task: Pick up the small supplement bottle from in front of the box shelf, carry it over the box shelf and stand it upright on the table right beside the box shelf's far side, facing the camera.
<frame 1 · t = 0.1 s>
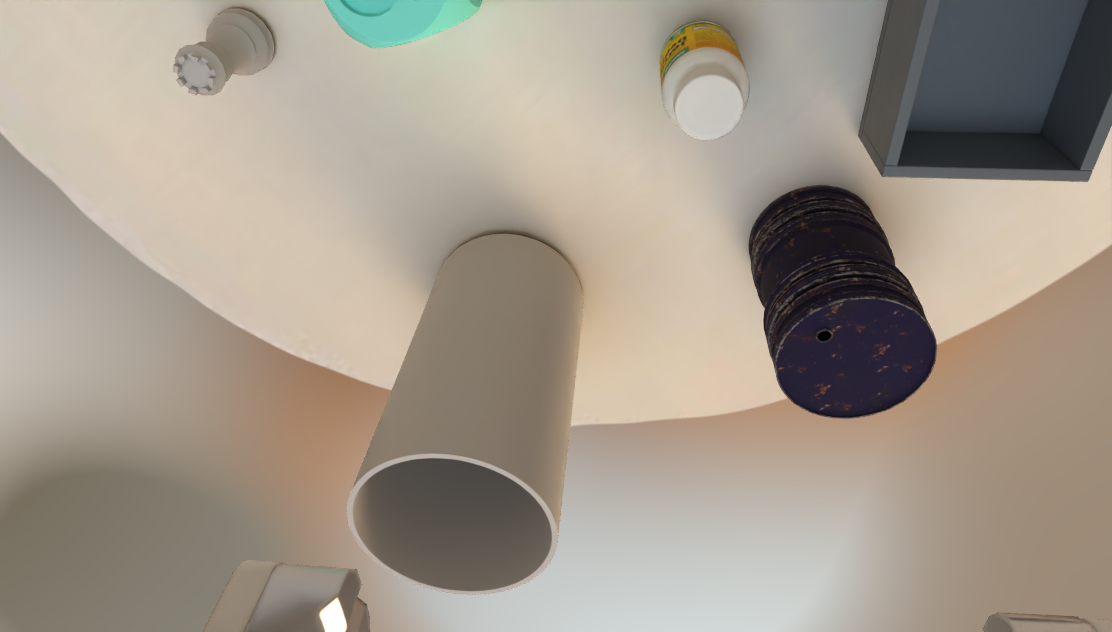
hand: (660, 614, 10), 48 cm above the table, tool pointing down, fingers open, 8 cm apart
supplement bottle: (698, 58, 53), on the table
dark barrel: (811, 240, 60), on the table
rook chess piece: (247, 38, 55), on the table
cylinder vase: (510, 292, 66), on the table
box shelf: (985, 15, 50), on the table
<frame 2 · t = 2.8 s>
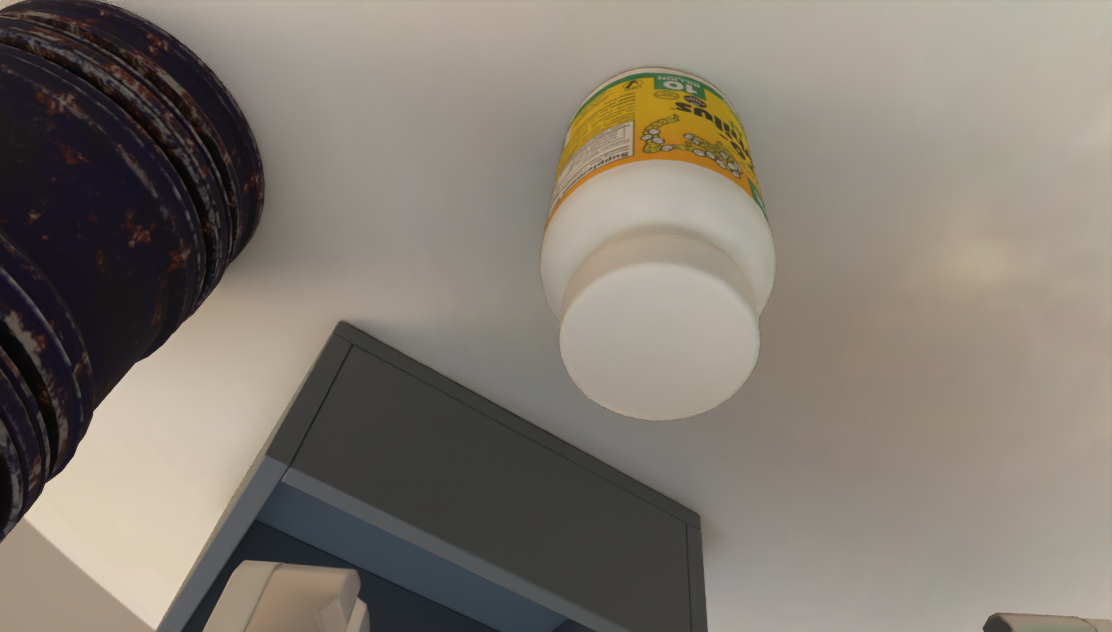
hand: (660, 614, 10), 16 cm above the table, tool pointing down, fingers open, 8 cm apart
supplement bottle: (654, 149, 23), on the table
dark barrel: (120, 150, 25), on the table
box shelf: (456, 508, 33), on the table
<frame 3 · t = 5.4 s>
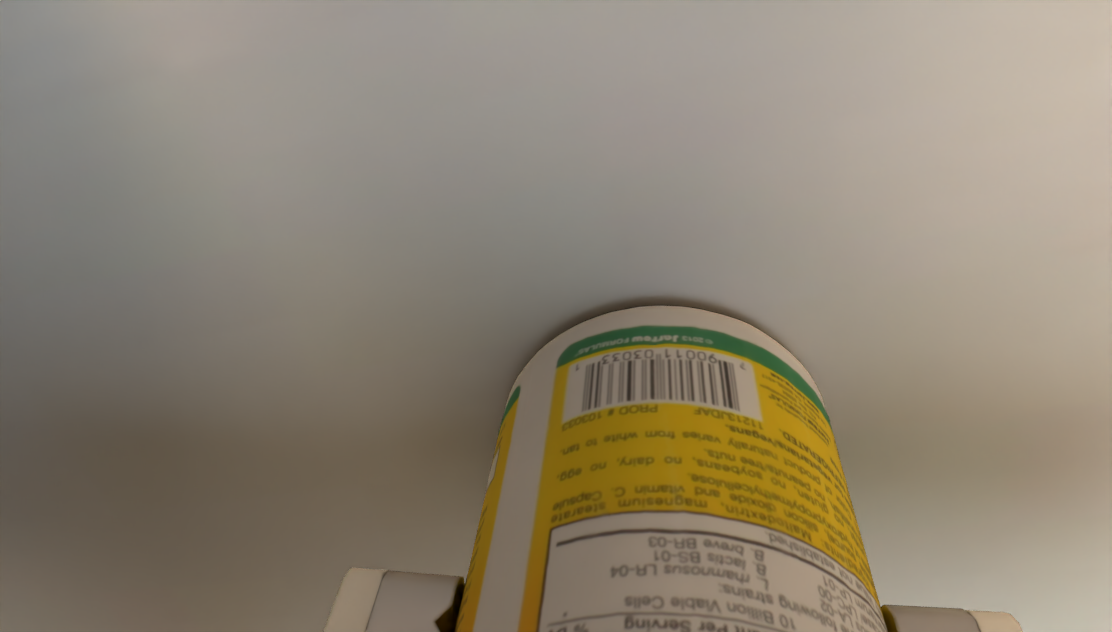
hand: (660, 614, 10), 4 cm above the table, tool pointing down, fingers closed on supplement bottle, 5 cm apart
supplement bottle: (658, 417, 13), on the table, touching gripper
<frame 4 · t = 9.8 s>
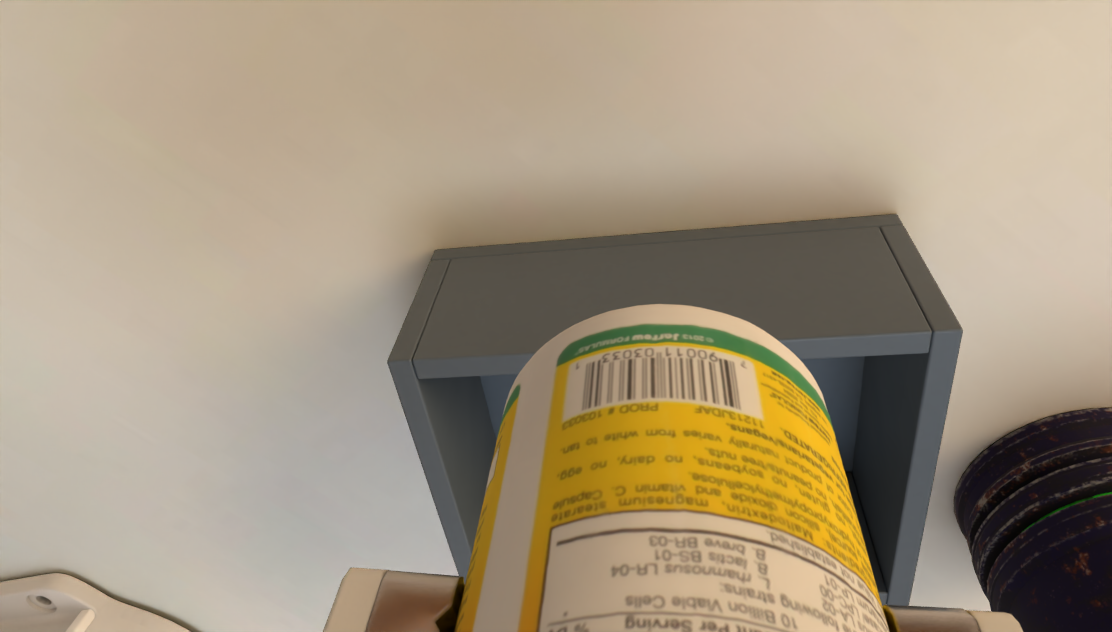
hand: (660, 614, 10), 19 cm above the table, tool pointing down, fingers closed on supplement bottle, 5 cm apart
supplement bottle: (659, 416, 13), point 15 cm above the table, touching gripper
dark barrel: (1071, 487, 34), on the table
box shelf: (665, 367, 31), on the table
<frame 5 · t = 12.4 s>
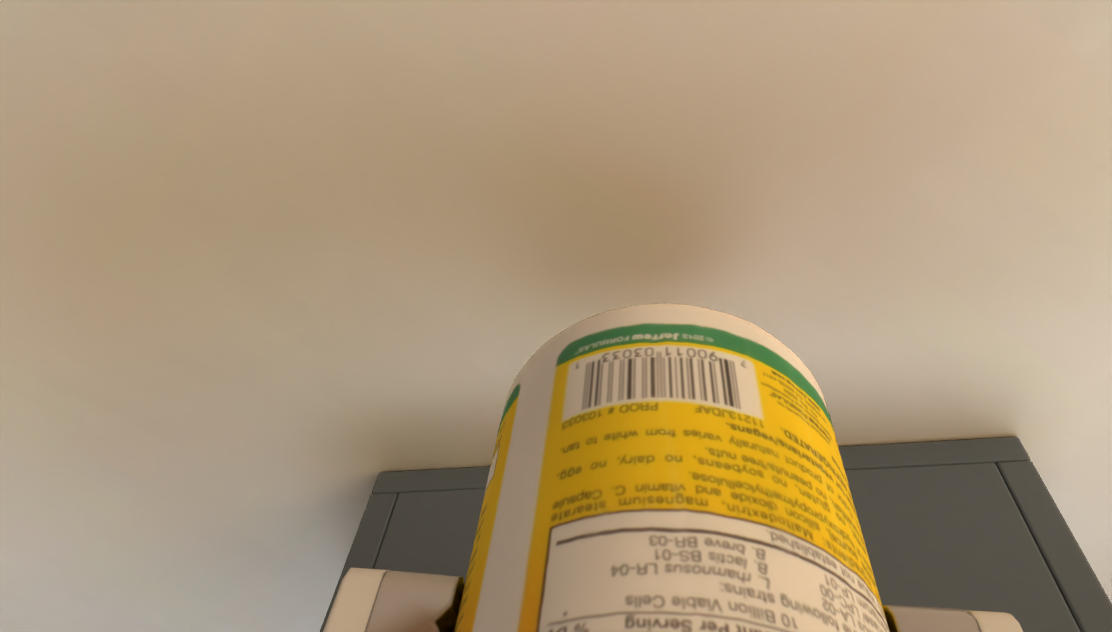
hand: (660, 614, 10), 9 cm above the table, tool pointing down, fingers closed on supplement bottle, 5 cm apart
supplement bottle: (658, 415, 13), point 5 cm above the table, touching gripper
box shelf: (693, 599, 24), on the table
when the fingers open (3 cm above the table, at t = 14.3 s): supplement bottle stays where it is, on the table.
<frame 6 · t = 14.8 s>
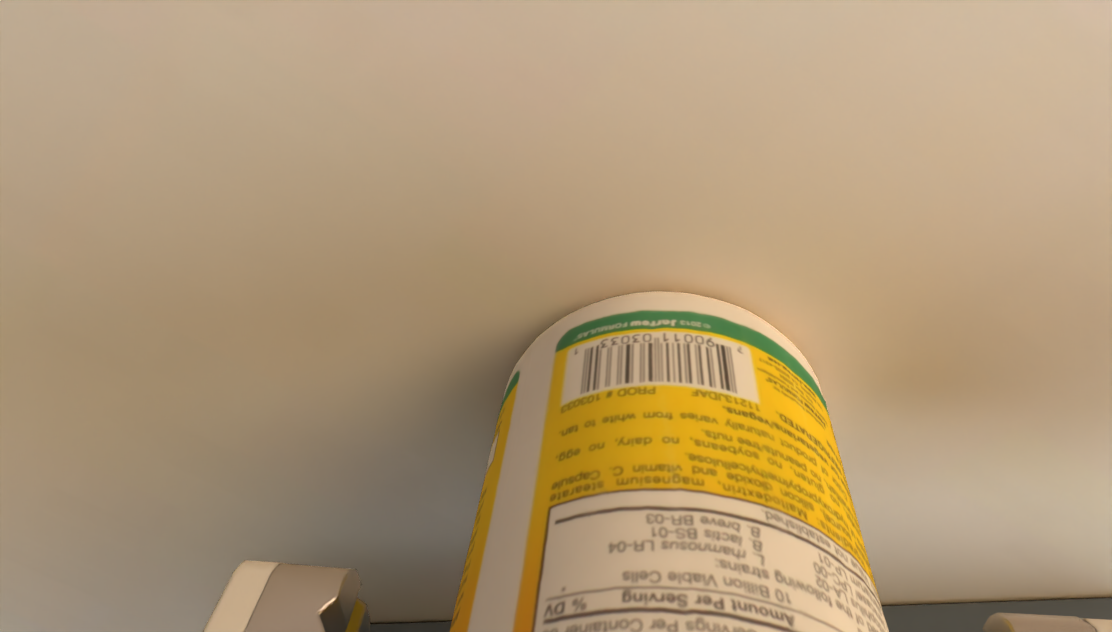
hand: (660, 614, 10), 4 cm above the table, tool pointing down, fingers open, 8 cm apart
supplement bottle: (656, 403, 13), on the table
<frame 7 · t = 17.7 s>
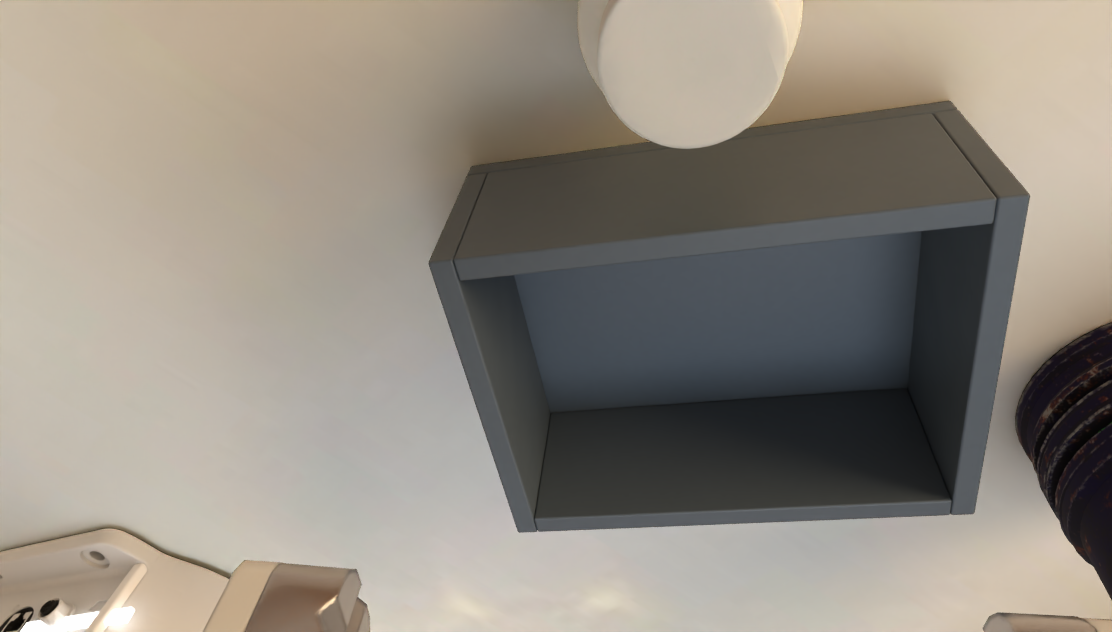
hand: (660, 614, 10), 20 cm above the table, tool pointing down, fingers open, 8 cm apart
box shelf: (710, 283, 31), on the table
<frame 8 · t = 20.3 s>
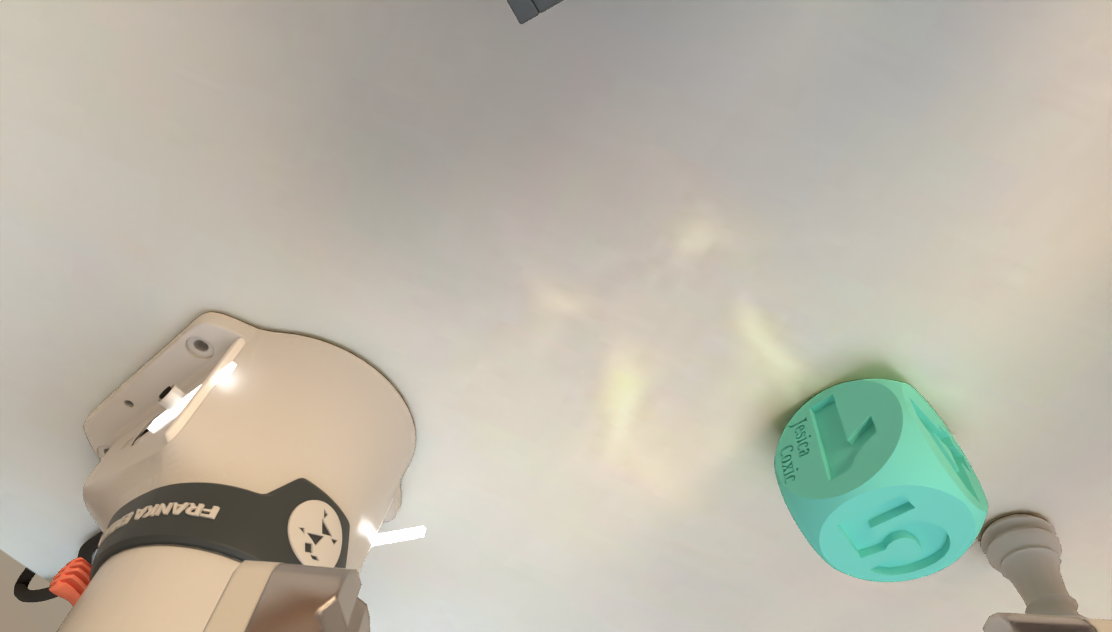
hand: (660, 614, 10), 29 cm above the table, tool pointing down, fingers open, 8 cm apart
rook chess piece: (1013, 531, 50), on the table
decorative dice: (859, 425, 46), on the table
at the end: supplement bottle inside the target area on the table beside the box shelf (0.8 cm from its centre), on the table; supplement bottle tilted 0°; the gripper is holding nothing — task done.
